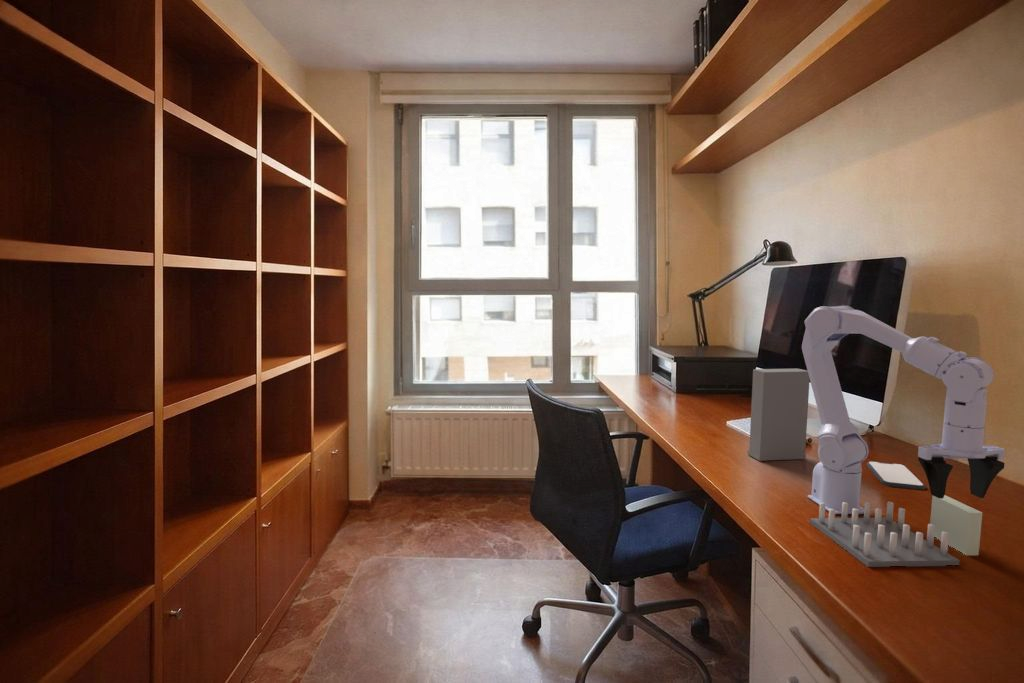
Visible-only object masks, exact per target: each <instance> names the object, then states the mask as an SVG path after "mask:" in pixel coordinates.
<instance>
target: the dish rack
mask: <svg viewBox="0 0 1024 683" xmlns="http://www.w3.org/2000/svg"><path fill="white" fill-rule="evenodd" d="M825 505H826V504H825V503H823V502H820V505H819V511H818V512H819V513H818V517H817V518H816V517H815V518H814V517H811V518H809V524H811V525H812V526H813V527H814V528H816V529H817V530H819V531H820V532H821V533H822V534H824V535H825V536H826V537H827V538H829V539H830V540H832V541H833V542H834V541H835V542H834V543H835V544H837V545H838V544H839V545H838V546H840V547H841V548H842V547H843V548H842V549H843V550H845V551H846V550H847V551H846V552H847V553H849V554H850V555H852V556H853V557H854V558H856V559H857V560H858V561H859V562H861V563H862V564H863V565H864V566H866V567H867V568H880V567H881V568H889V567H890V566H906V567H947V566H946V565H953V566H952V567H955V566H954V565H959V566H960V559H958V558H957V557H954V556H953V555H951V554H950V553H948V551H949V546H948V540H949V533H948V532H942V535H941V541H940V547H938V546H936V545H935V544H934V540H935V538H934V531H935V525H933V524H930V523H928V524H927V532H926V539H924V533H923V532H921V531H916V532H915V533H914V532H913V531H911V526H910V525H909V524H907V523H905V516H906V508H904V507H903V508H902V507H898V512H897V513H898V515H897V522H896V521H894V520H893V516H894V515H893V514H894V501H893V502H892V501H887V503H886V516H885V517H882V514H883V513H882V512H883V509H882V508H877V507H876V508H875V510H874V511H875V514H874V517H871V509H872V508H871V507H872V503H871V502H870V501H865V502H864V514H863V517H859V514H858V511H859V510H858V509H855V508H853V509H852V514H851V517H848V515H849V514H848V503H846V502H842V514H841V517H836V514H835V510H834V509H829V511H828V517H826V509H825ZM890 568H891V567H890Z"/></svg>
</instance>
